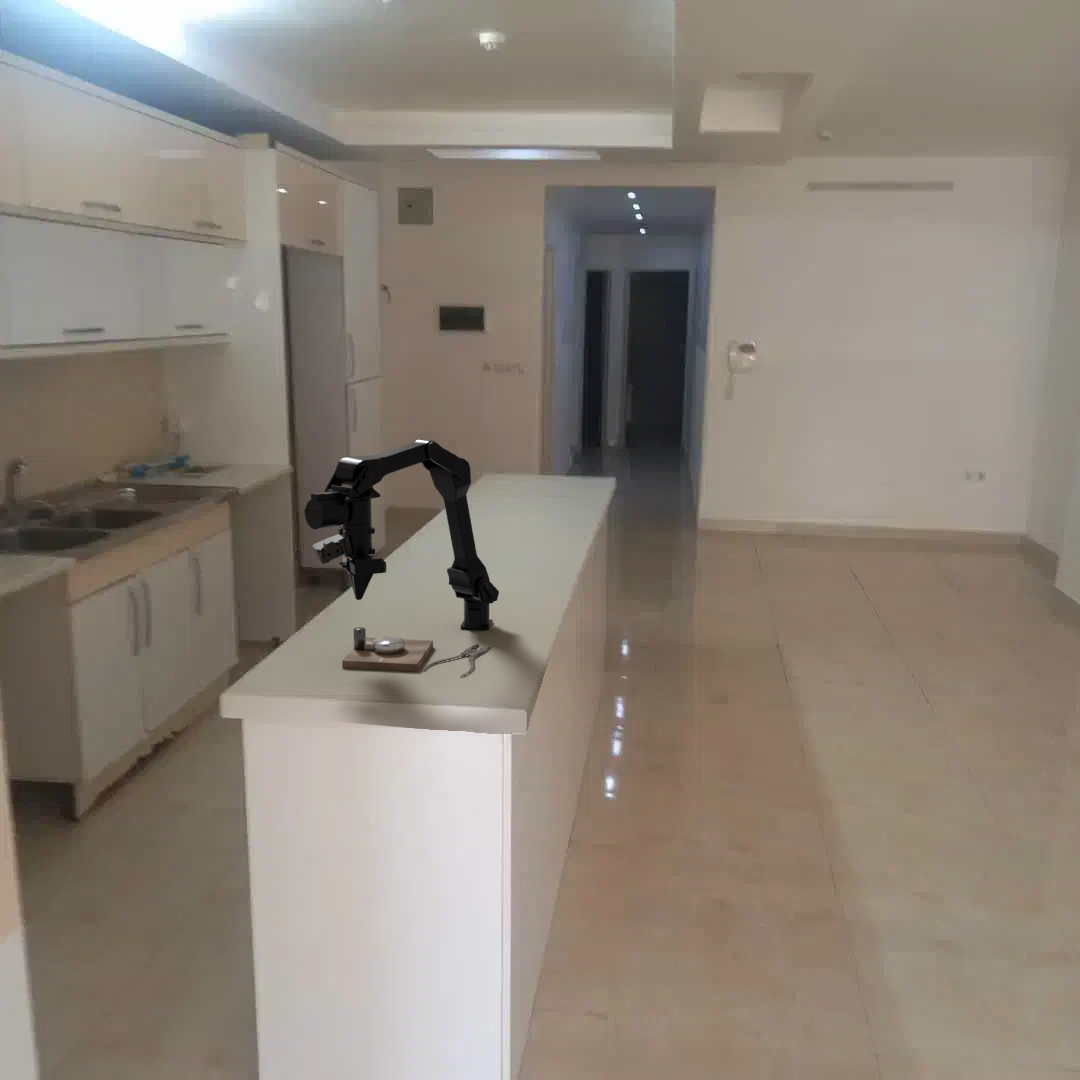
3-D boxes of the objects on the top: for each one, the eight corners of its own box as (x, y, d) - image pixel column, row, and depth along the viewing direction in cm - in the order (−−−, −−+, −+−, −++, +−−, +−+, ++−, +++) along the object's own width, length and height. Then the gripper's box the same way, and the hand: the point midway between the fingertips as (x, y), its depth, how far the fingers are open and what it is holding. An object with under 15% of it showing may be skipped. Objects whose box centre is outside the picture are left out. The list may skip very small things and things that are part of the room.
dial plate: (363, 644, 215) (363, 637, 214) (433, 647, 213) (432, 640, 213) (342, 667, 200) (342, 660, 200) (417, 671, 198) (416, 663, 198)
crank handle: (407, 644, 209) (407, 625, 208) (401, 654, 203) (400, 635, 202) (358, 642, 210) (357, 624, 209) (350, 652, 204) (349, 633, 203)
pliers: (419, 672, 197) (447, 640, 216) (419, 676, 197) (447, 644, 216) (467, 676, 195) (491, 643, 214) (467, 680, 195) (491, 647, 215)
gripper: (304, 516, 203) (307, 592, 206) (328, 534, 186) (330, 616, 189) (358, 512, 207) (360, 586, 211) (386, 530, 191) (387, 609, 194)
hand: (358, 599), depth 201 cm, fingers closed
